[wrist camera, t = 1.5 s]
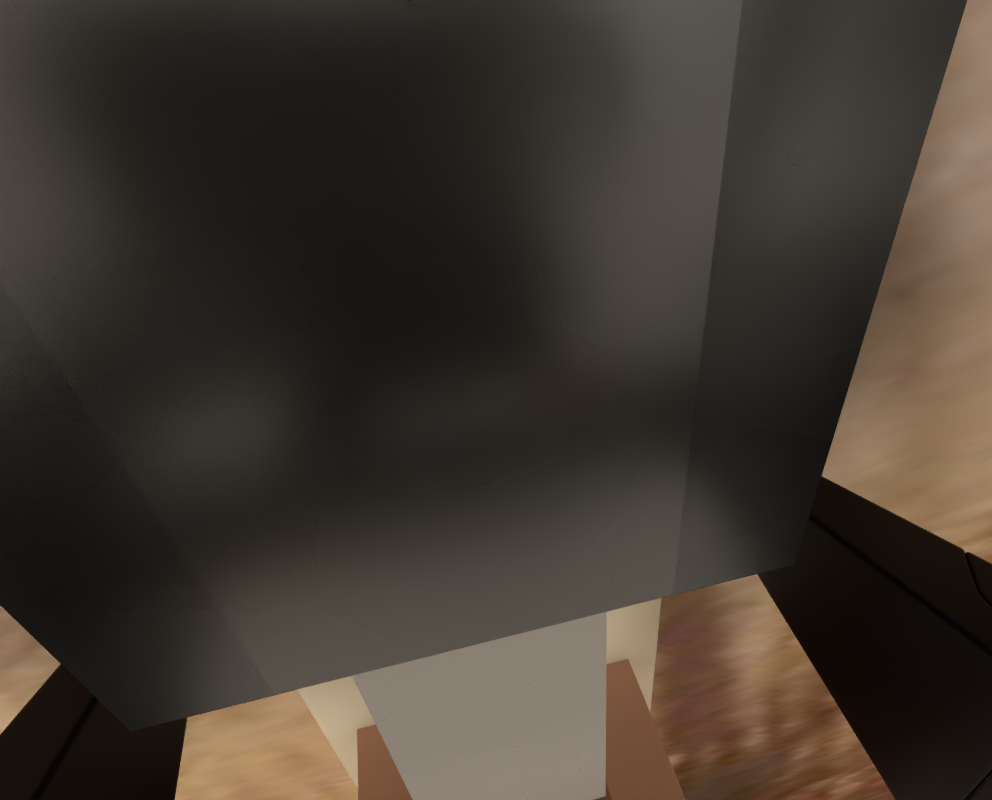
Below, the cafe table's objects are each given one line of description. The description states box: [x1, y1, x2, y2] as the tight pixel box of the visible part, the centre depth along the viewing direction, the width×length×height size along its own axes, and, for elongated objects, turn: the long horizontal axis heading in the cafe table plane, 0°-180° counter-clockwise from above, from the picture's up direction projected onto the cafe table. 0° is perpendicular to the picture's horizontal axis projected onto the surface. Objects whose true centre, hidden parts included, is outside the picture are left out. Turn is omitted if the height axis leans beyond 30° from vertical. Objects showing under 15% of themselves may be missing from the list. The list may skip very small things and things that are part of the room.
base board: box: [297, 598, 661, 788], centre depth 13 cm, size 9×28×1 cm, turn 6°
